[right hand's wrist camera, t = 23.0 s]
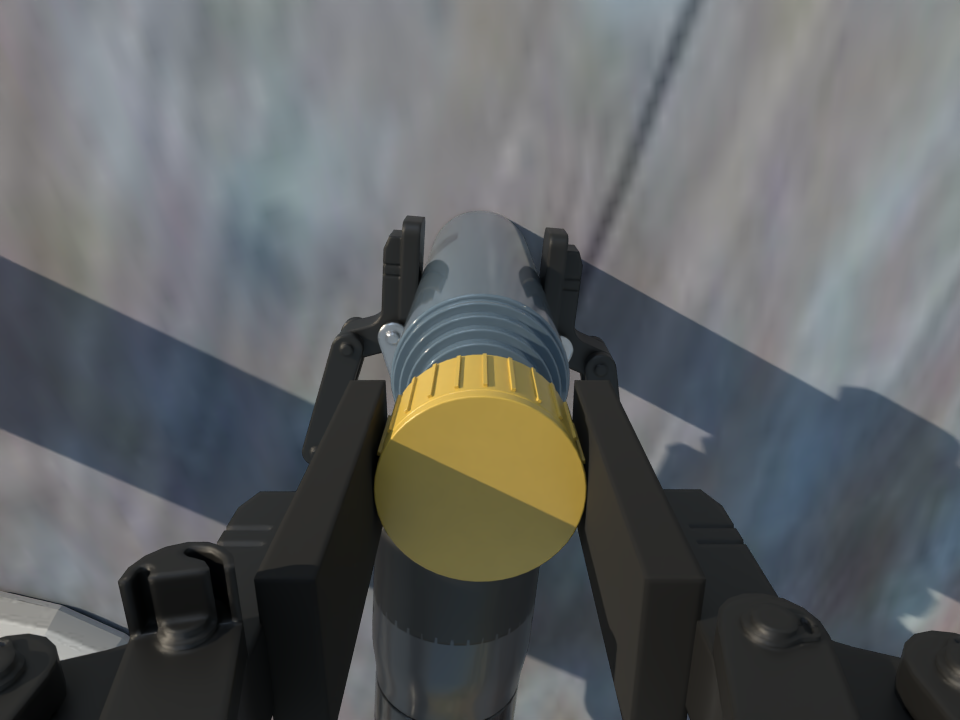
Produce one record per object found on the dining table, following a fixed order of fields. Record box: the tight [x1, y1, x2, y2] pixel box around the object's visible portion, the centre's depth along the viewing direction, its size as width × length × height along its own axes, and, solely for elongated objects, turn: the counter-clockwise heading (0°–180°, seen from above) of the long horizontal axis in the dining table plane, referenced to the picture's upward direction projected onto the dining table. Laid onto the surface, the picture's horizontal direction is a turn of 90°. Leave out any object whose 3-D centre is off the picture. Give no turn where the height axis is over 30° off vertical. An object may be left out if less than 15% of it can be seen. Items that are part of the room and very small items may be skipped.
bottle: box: [391, 211, 570, 402], centre depth 23 cm, size 5×5×20 cm
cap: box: [374, 353, 587, 582], centre depth 14 cm, size 4×4×2 cm
